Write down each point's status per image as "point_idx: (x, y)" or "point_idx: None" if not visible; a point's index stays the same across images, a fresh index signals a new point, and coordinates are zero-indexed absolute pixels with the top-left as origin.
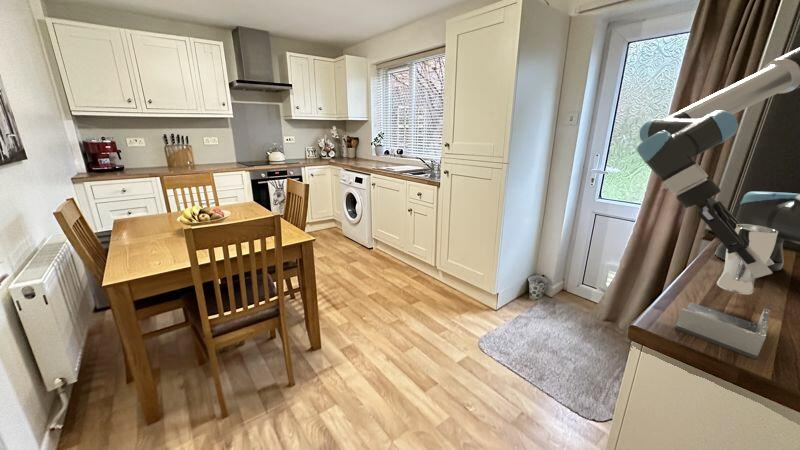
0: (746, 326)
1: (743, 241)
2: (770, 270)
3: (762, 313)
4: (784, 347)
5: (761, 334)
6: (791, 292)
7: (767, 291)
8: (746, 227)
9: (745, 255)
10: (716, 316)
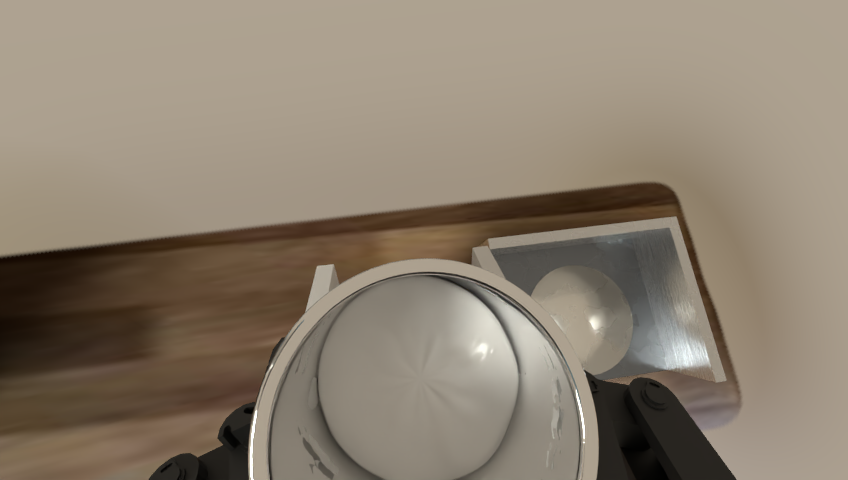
0: (516, 269)
1: (542, 415)
2: (479, 253)
3: (496, 250)
4: (522, 207)
5: (667, 224)
6: (112, 247)
7: (166, 289)
8: None
9: None
10: None
